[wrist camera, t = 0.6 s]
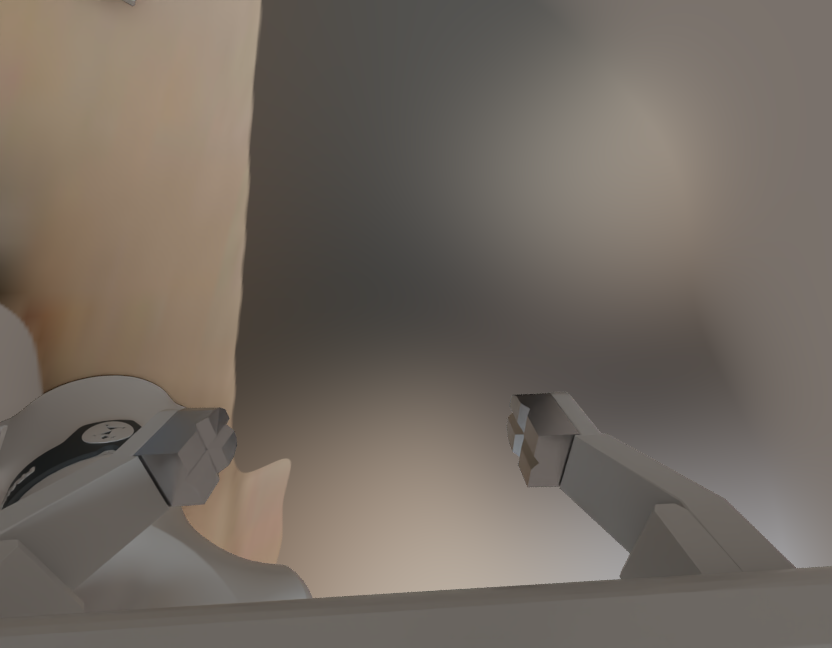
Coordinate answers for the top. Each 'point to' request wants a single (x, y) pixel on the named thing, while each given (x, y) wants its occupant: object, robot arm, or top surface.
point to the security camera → (130, 2)
